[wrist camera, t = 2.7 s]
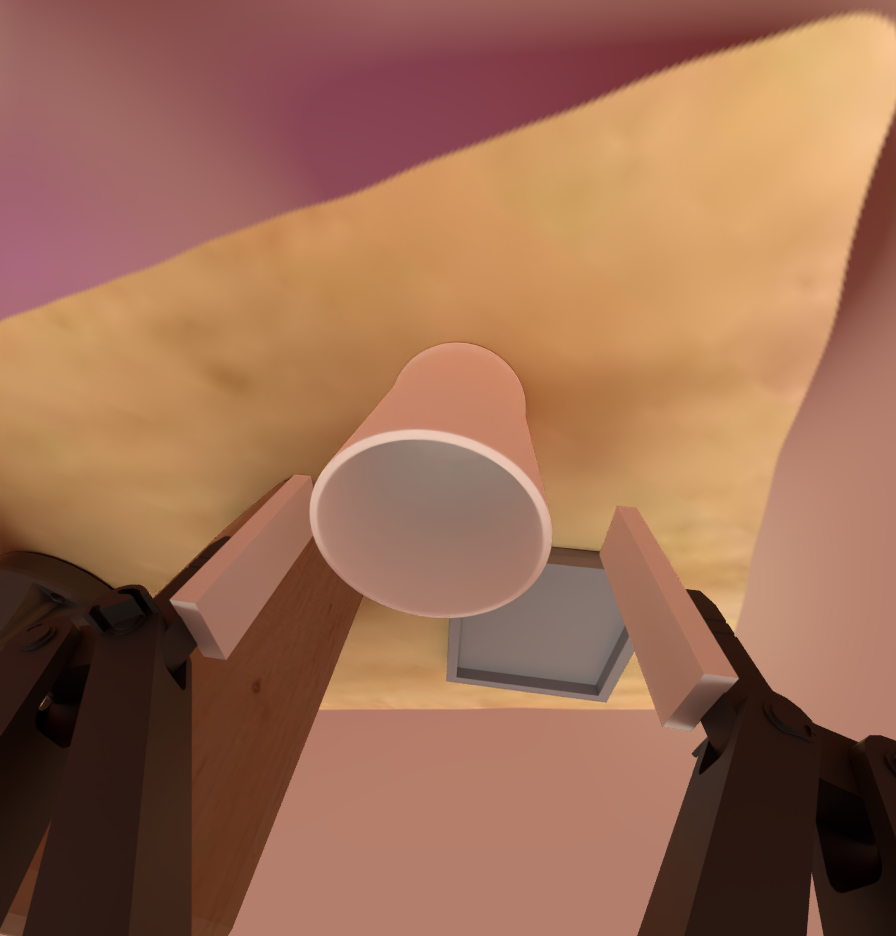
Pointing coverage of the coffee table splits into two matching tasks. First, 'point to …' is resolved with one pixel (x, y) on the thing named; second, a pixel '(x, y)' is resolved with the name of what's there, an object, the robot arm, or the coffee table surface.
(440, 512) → the mug
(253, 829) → the wooden block
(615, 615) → the tray
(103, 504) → the coffee table surface
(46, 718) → the robot arm
